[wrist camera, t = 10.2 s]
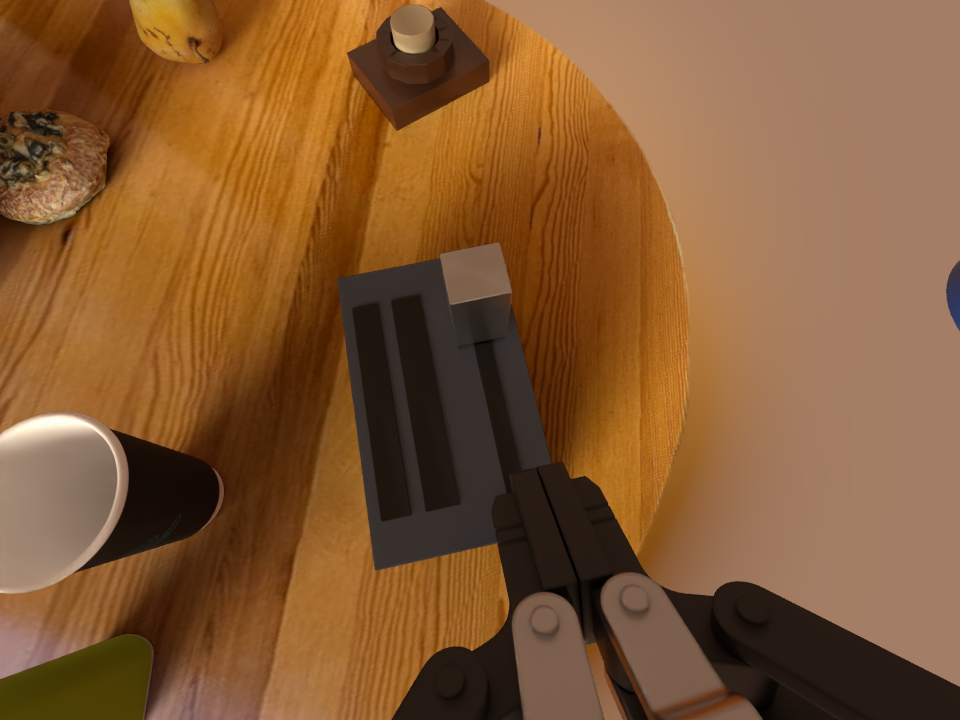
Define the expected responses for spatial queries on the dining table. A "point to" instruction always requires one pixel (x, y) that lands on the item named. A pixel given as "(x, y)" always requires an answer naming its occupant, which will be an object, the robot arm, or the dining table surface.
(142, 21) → the fruit
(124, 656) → the vape
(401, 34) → the power button
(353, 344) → the toaster
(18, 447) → the dixie cup
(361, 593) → the dining table surface
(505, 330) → the toaster slider
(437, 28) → the block
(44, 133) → the bread roll
